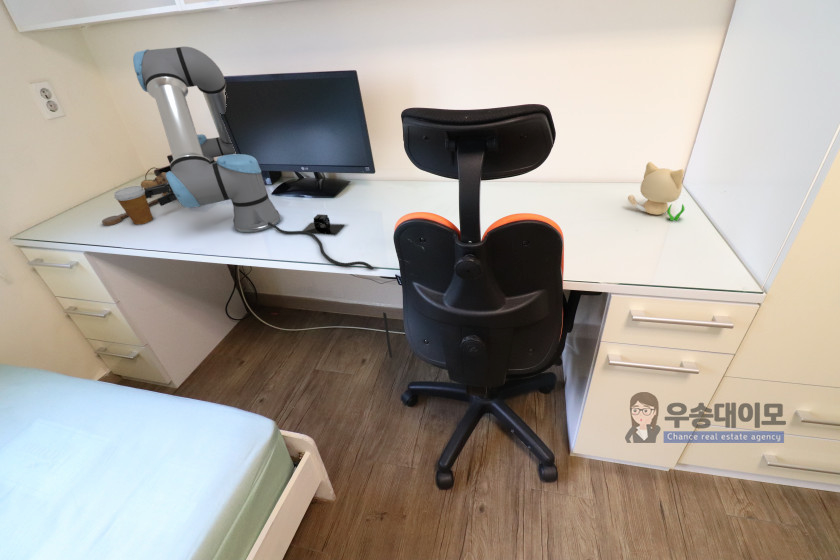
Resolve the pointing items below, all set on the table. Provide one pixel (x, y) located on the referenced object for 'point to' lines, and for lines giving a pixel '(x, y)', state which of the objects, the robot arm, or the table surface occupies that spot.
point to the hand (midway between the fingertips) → (146, 201)
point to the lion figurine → (155, 182)
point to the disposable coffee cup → (134, 204)
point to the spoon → (121, 216)
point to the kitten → (659, 190)
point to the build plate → (323, 226)
